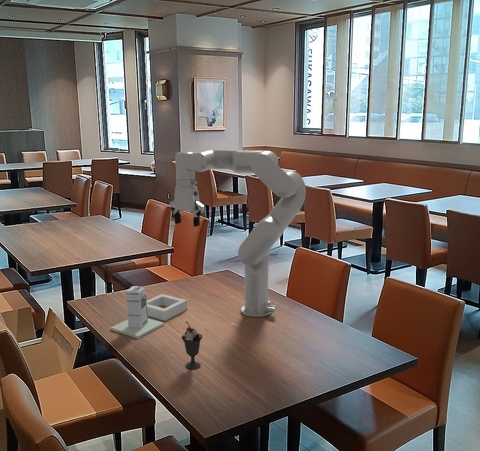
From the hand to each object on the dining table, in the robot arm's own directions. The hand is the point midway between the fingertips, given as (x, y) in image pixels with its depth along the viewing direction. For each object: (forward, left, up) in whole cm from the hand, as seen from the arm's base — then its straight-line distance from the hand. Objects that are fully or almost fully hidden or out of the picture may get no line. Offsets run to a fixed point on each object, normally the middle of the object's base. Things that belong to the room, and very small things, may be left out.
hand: (187, 224), depth 211 cm
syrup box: (+2, +29, -34) cm, 44 cm away
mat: (+2, +29, -34) cm, 45 cm away
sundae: (-34, +41, -34) cm, 63 cm away
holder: (+4, +12, -34) cm, 37 cm away
